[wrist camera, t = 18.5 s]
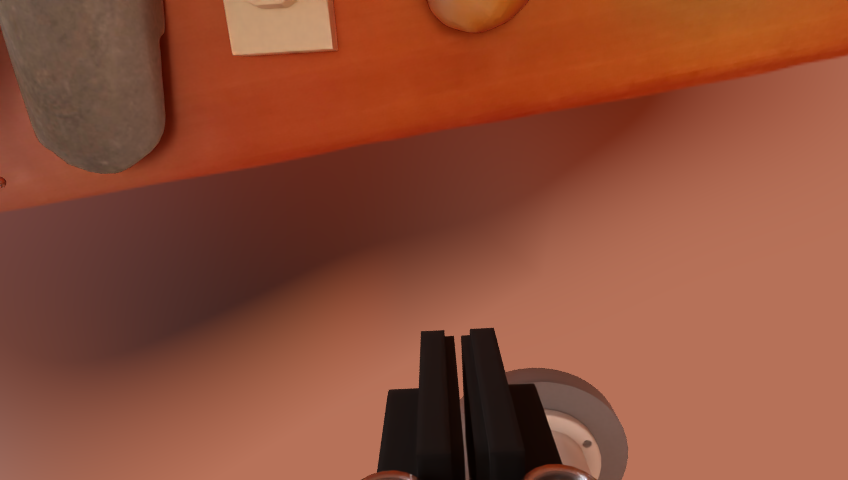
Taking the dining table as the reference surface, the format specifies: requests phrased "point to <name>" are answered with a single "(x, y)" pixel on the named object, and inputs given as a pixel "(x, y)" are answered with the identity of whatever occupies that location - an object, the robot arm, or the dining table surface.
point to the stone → (89, 76)
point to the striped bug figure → (2, 182)
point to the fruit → (475, 13)
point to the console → (280, 26)
